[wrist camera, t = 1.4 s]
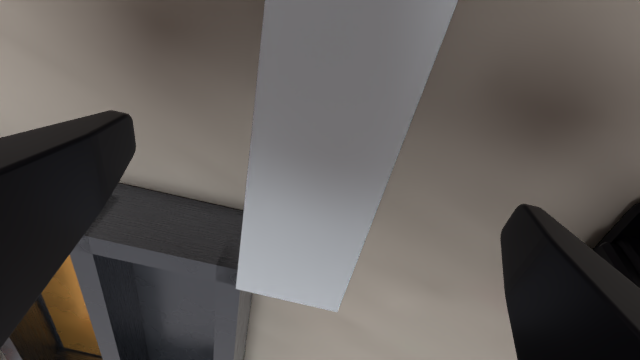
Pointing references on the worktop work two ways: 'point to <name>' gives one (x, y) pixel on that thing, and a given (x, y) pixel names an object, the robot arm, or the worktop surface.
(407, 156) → the worktop surface
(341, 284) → the panel
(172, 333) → the box
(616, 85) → the worktop surface
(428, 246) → the worktop surface
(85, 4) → the worktop surface
